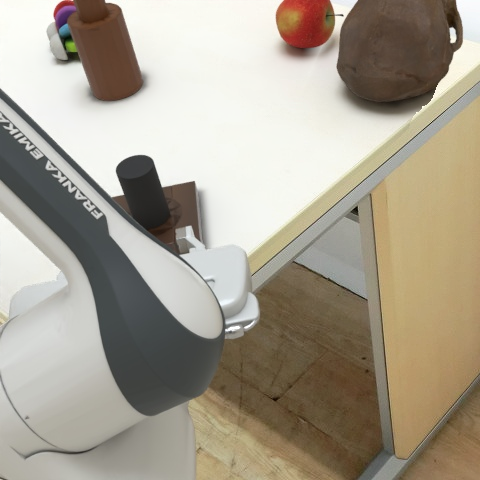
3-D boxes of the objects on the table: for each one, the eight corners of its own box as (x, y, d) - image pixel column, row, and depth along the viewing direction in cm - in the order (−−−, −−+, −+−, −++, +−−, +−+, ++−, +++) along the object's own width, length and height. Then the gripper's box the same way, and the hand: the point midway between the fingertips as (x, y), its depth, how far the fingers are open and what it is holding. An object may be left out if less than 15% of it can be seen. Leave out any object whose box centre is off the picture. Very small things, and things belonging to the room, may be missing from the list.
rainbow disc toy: (103, 27, 124) (89, -16, 120) (113, 53, 118) (98, 9, 113) (51, 41, 123) (34, -2, 118) (57, 69, 116) (40, 25, 111)
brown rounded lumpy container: (507, 74, 102) (506, -15, 91) (379, 141, 98) (364, 56, 88) (427, 12, 113) (419, -73, 103) (311, 70, 110) (291, -12, 100)
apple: (288, 23, 117) (351, 9, 114) (285, 65, 113) (351, 51, 110) (268, -16, 110) (335, -32, 107) (264, 27, 106) (334, 11, 103)
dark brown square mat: (111, 269, 82) (105, 256, 81) (113, 210, 90) (108, 197, 88) (203, 251, 83) (199, 237, 82) (198, 193, 90) (194, 180, 89)
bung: (139, 245, 85) (115, 181, 79) (139, 222, 88) (115, 158, 82) (175, 238, 85) (154, 174, 79) (173, 215, 88) (153, 151, 82)
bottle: (91, 104, 107) (54, 4, 97) (94, 78, 113) (59, -20, 103) (143, 95, 108) (111, -7, 98) (143, 69, 113) (113, -30, 103)
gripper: (256, 304, 59) (239, 193, 70) (-11, 359, 58) (12, 239, 69) (269, 355, 64) (251, 244, 74) (21, 408, 63) (38, 288, 73)
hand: (134, 242), depth 71 cm, fingers open, 8 cm apart
